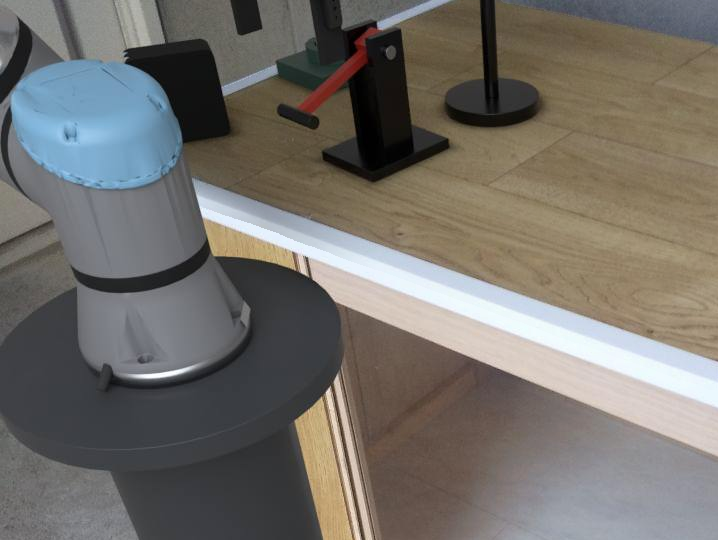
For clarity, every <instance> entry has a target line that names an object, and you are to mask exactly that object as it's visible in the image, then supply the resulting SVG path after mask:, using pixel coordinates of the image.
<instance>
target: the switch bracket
mask: <svg viewBox="0 0 718 540" xmlns="http://www.w3.org/2000/svg"><path fill="white" fill-rule="evenodd" d="M370 27H373V28H376V29H379V27H378V21H377V20H375V19H372V18H369V19H367V20H364V21H361V22H357V23H355V24H353V25H350V26H349V25H348V26H347V27H342V28H343V29H342V33H343V40H344V47H345V54H346V58H345V62H347V61H348V60H349V59H350V58H351V57H352V56H353V55H354V54H355V53H356V52H357V48H356V46H355V44H354V42H355V41H356V40H357V39H358V38H359V37H360V36H361V35H362V34H364V33H365V32H366V31H367V30H368V29H369V28H370ZM402 33H403V32H402V28H401V27H397V26H394V27H391V28H388V29H384V30H382V32H379V33H376V34H373V35H371V36H368V37H365V44H366V51H367V59H368V64H367V63H365V64H364V65H363V66H362V67H361V68H360V69H359V70H358V71H357V72H356V73H355V74H354V75H352V76H351V77H350V78H349V79H348V84H349V86H348V91H349V97H350V98H349V99H350V105H351V111H352V117H353V124H354V125H353V126H354V130H355V131H354V132H355V136H353V137H351V138H349V139H346V140H344V141H341V142H339V143H337V144H335V145H332V146H329V147H327V148H325V149H323V150H321V156H322V161H323V162H325V163H328V164H330V165H333V166H334V167H337V168H339V169H341V170H344V171H346V172H348V173H351V174H353V175H355V176H358V177H360V178H363V179H364V180H367V181H369V182H372V183H376V182H378V181H381V180H382V179H384V178H387V177H389V176H392V175H394V174H395V173H398V172H400V171H403V170H404V169H407V168H409V167H411V166H414V165H415V164H418V163H420V162H422V161H424V160H426V159H428V158H431V157H433V156H435V155H438V154H439V153H441V152H444V151H446V150H448V149H450V138H449V137H446V136H444V135H441V134H439V133H438V134H437V133H435V132H433V131H430V130H428V129H426V128H423V127H419V126H417V125H414V124H412V117H411V107H410V97H409V89H408V88H409V87H408V79H407V70H406V61H405V51H404V42H403V34H402Z"/></svg>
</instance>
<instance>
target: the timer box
mask: <svg viewBox="0 0 718 540" xmlns="http://www.w3.org/2000/svg"><path fill="white" fill-rule="evenodd" d="M304 47H305V48H304V49H305V50H302V51H299V52H295V53H293V54H290V55H288V56H285V57H281V58H278V59H276V60H275V65H276V70H277V75H278V78H280V79H282V80H285V81H288V82H290V83H293V84H296V85H298V86H301V87H304V88H306V89H309V90H311V91H313V92H314V91H315V90H316V89H317V88H318V87H320V86H321V85H322V84H323V83H324V82H325V81H326V80H327V79H328V78H329V77H330V76H331V75H333V74H334V73H335V72H336V71H337V70H338V69H339V68H340V67H341V66H342V65H343V64H344V63H345V59H342V60H340V61H337V62H334V63H331V64H329V65H326V66H324V65H321V64H320V61H319V55H318V49H317V44H316V38H315V36H313V37H311V38H309V39H308V40H307V41H305V42H304ZM348 87H349V84H348V80H347V81H346V82H345V83H344V84H343V85H342V86H341V87H340V88H339V89H337V90H336V91H335V92H337V91H339V90H343V89H345V88H348Z"/></svg>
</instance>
